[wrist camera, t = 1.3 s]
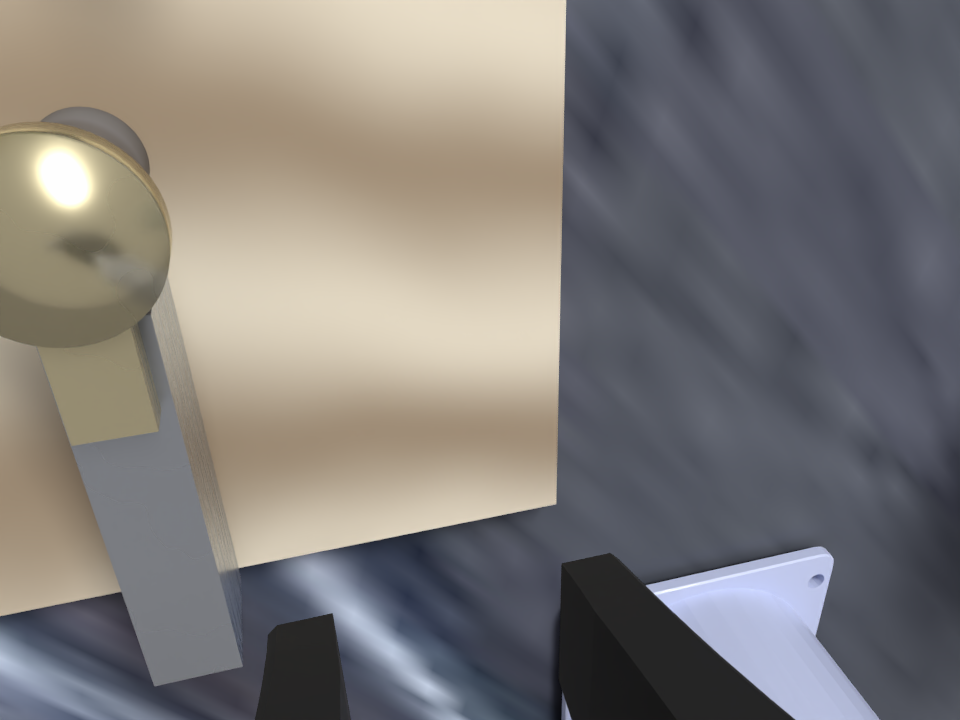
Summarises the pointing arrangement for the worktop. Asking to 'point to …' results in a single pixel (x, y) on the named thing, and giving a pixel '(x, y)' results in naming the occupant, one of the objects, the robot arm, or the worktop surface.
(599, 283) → the worktop surface
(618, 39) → the worktop surface
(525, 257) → the jamb board
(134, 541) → the lock bar
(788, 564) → the robot arm
